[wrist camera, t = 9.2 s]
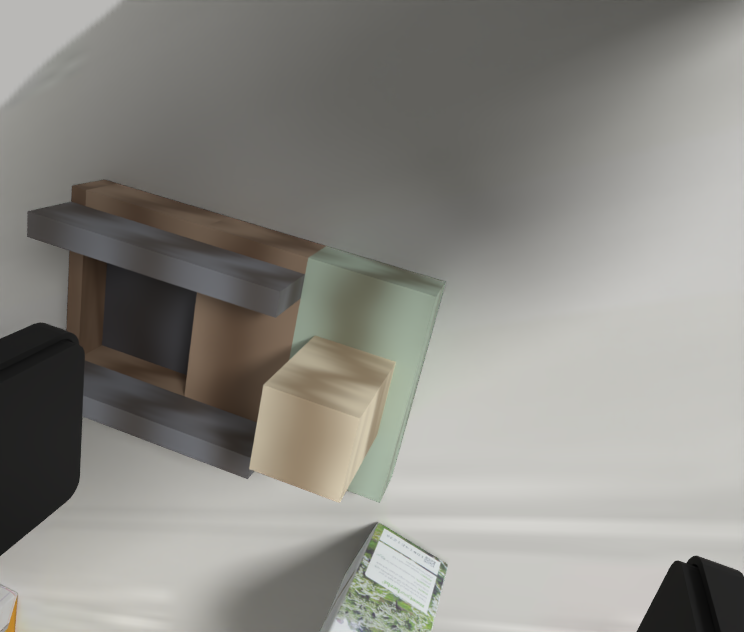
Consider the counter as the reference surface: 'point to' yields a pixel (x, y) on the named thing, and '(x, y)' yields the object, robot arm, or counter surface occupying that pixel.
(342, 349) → the ash block
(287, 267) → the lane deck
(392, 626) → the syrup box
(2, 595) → the packaging box
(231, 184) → the counter surface
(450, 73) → the counter surface
